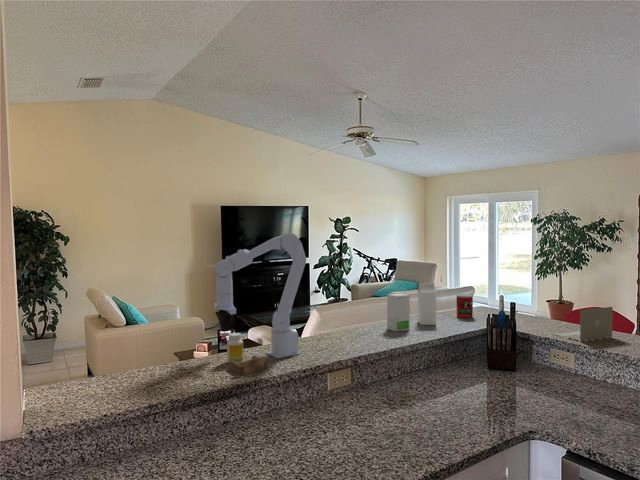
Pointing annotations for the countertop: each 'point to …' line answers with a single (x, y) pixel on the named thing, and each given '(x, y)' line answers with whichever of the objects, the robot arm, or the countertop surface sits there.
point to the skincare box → (398, 312)
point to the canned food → (464, 305)
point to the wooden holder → (249, 365)
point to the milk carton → (426, 304)
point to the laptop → (594, 324)
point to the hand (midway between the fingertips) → (225, 331)
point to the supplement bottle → (235, 348)
